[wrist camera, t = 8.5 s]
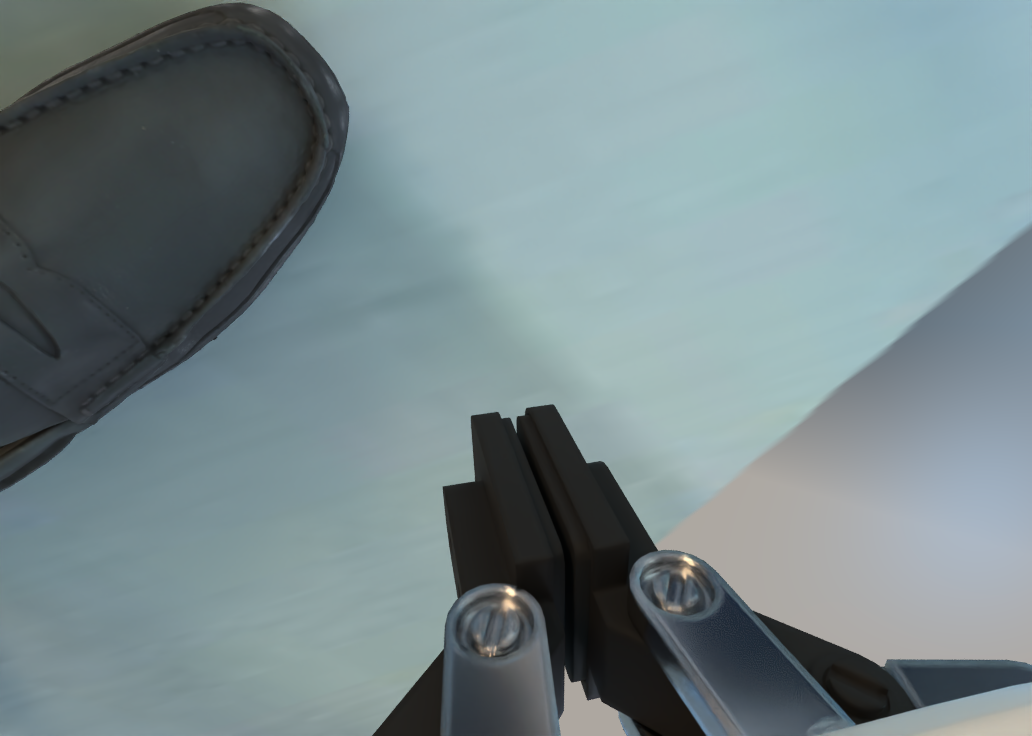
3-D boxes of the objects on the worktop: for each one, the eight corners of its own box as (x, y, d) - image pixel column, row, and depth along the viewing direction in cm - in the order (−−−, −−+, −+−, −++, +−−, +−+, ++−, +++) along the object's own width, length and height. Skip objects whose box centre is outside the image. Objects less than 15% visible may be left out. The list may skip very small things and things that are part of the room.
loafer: (404, 148, 25) (424, 176, 16) (-15, 558, 29) (-191, 768, 20) (196, -85, 21) (61, -227, 12) (-275, 439, 24) (-663, 643, 15)
